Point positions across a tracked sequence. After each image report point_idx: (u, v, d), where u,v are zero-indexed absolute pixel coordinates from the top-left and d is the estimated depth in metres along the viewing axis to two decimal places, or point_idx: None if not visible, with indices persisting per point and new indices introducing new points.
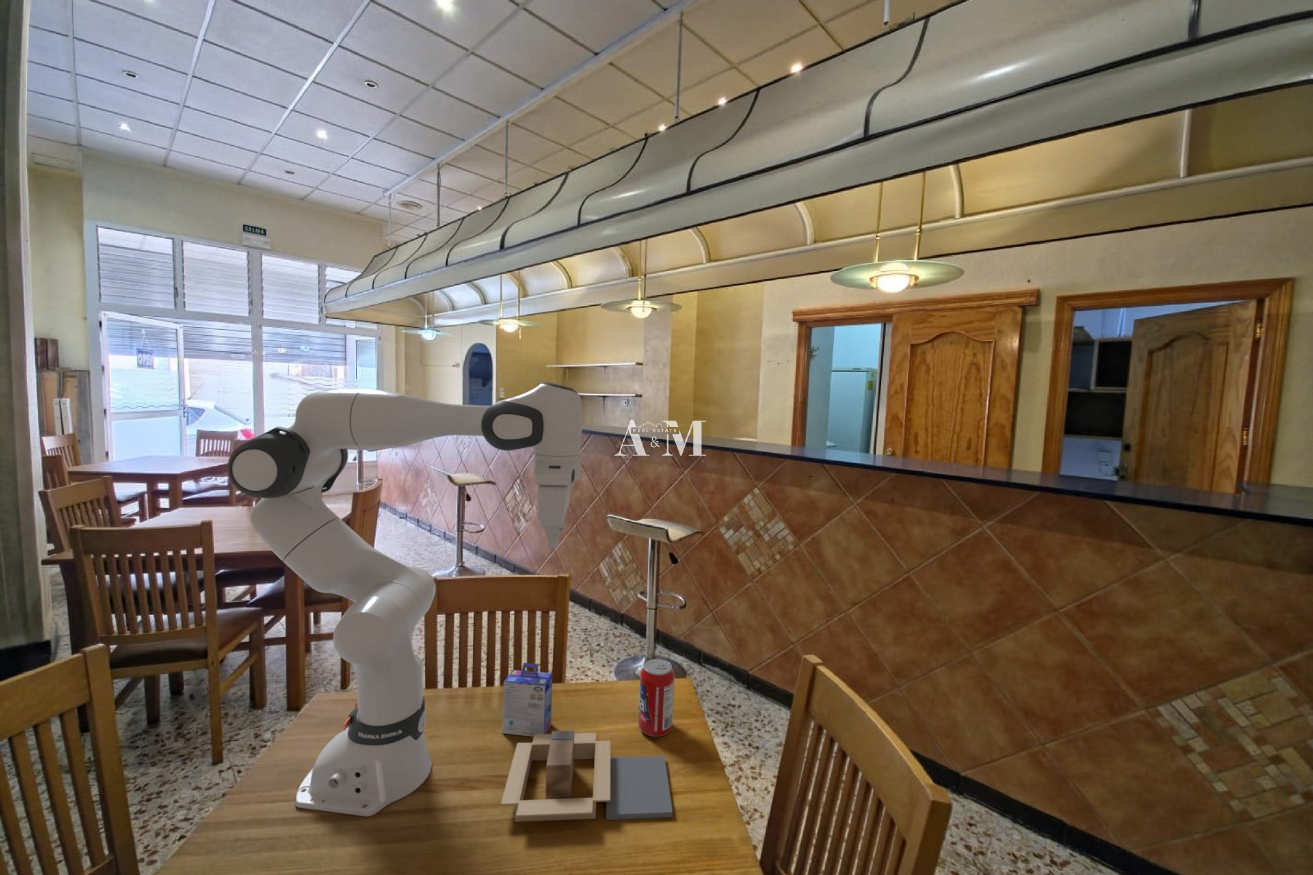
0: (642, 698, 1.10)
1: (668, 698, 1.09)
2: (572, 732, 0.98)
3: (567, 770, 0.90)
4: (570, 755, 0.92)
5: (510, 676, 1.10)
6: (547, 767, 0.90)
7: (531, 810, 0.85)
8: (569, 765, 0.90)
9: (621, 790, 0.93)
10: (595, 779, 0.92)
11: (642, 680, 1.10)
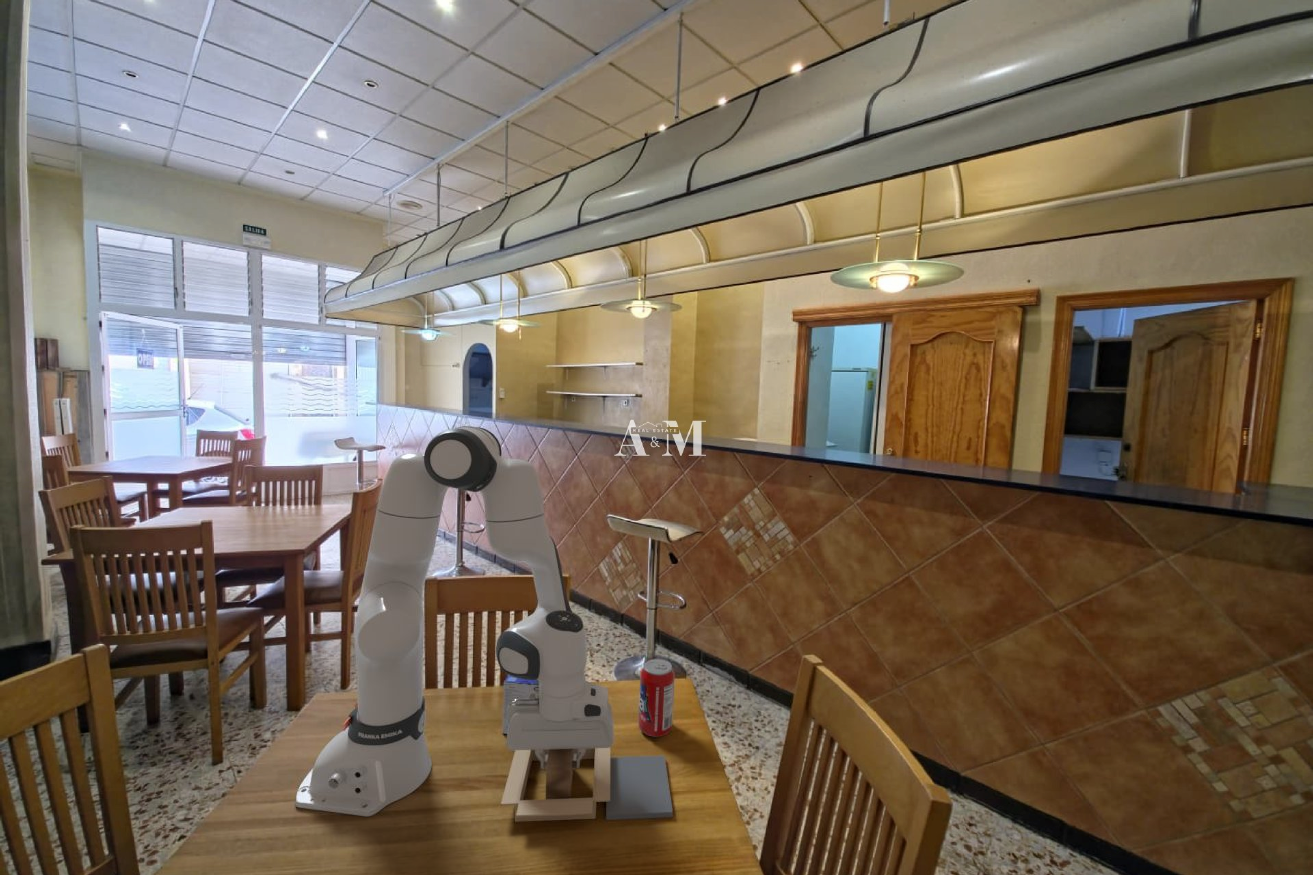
0: (642, 698, 1.10)
1: (668, 698, 1.09)
2: None
3: (567, 770, 0.90)
4: (570, 755, 0.92)
5: (510, 676, 1.10)
6: (547, 767, 0.90)
7: (531, 810, 0.85)
8: (569, 765, 0.90)
9: (621, 790, 0.93)
10: (595, 779, 0.92)
11: (642, 680, 1.10)
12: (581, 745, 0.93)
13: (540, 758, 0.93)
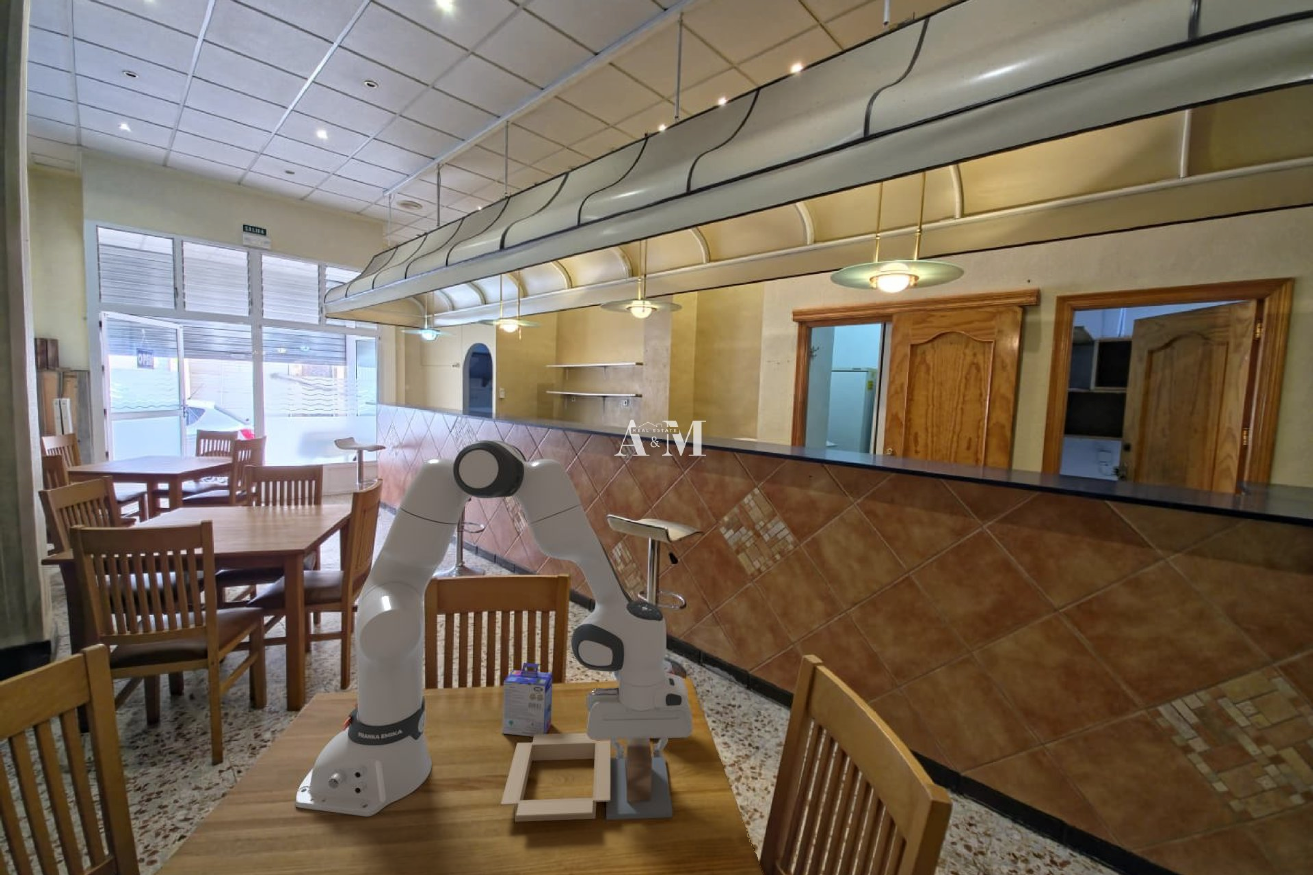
0: None
1: None
2: None
3: (648, 766, 0.90)
4: (649, 751, 0.93)
5: (510, 676, 1.10)
6: (629, 763, 0.90)
7: (531, 810, 0.85)
8: (650, 761, 0.90)
9: (621, 790, 0.93)
10: (595, 779, 0.92)
11: None
12: (660, 734, 0.93)
13: (615, 747, 0.93)
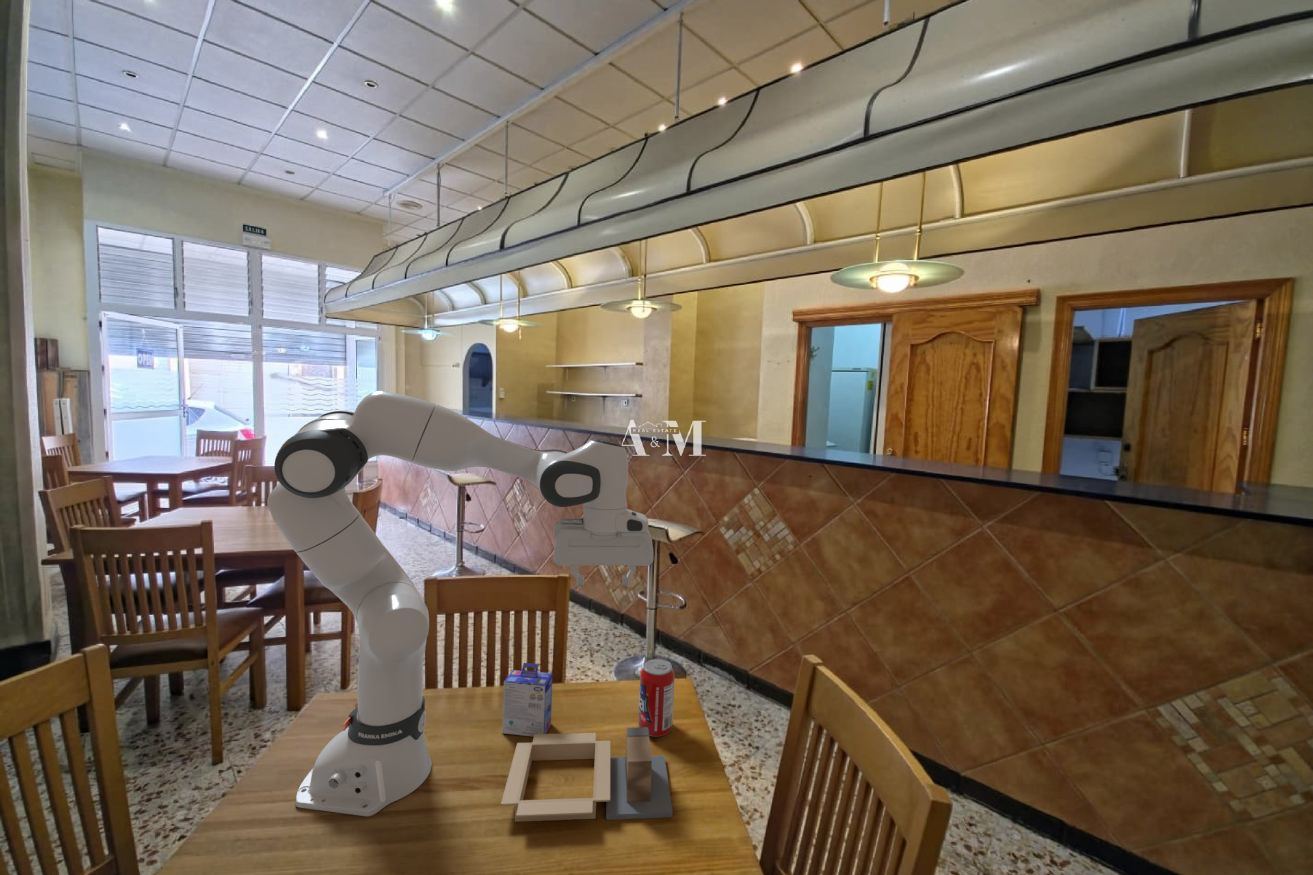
0: (642, 698, 1.10)
1: (668, 698, 1.09)
2: (646, 729, 0.99)
3: (648, 766, 0.90)
4: (649, 751, 0.93)
5: (510, 676, 1.10)
6: (629, 763, 0.90)
7: (531, 810, 0.85)
8: (650, 761, 0.90)
9: (621, 790, 0.93)
10: (595, 779, 0.92)
11: (642, 680, 1.10)
12: (623, 562, 0.99)
13: (575, 575, 0.99)
